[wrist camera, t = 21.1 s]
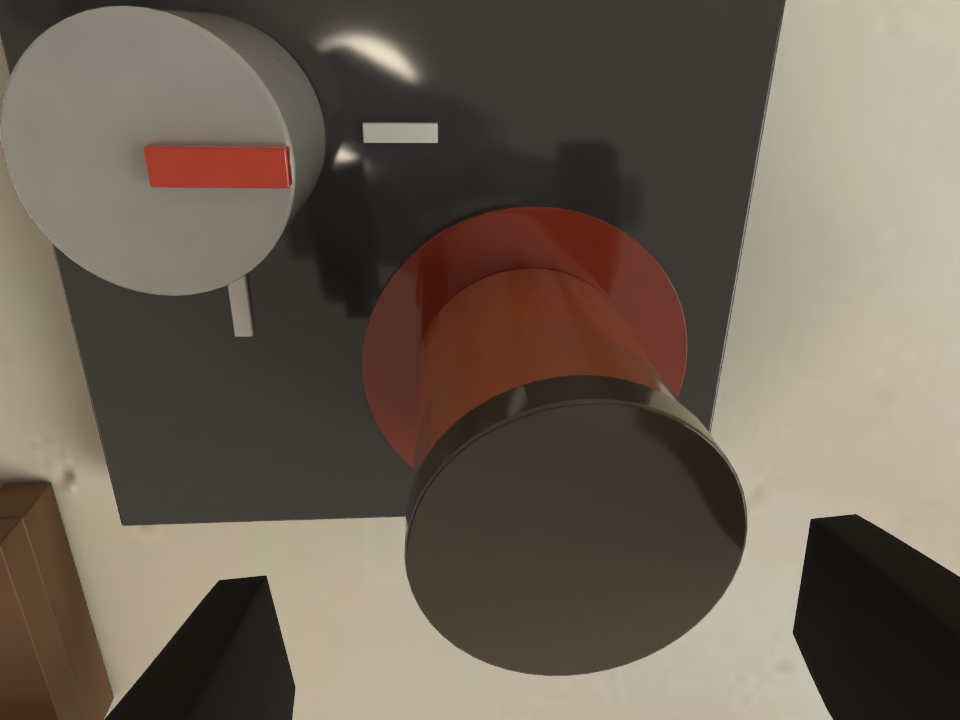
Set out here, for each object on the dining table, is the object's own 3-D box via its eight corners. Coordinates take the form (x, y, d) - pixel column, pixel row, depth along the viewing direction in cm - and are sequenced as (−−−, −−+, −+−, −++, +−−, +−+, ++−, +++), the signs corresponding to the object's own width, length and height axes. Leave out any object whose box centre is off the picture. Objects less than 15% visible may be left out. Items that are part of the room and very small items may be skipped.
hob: (-14, -117, 13) (-92, -143, 11) (758, -96, 14) (811, -117, 12) (127, 479, 19) (92, 532, 17) (673, 464, 20) (700, 512, 18)
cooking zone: (352, 205, 14) (351, 206, 14) (708, 205, 14) (710, 206, 14) (371, 505, 17) (370, 507, 17) (665, 496, 17) (666, 498, 17)
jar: (364, 375, 15) (330, 562, 10) (532, 213, 14) (598, 325, 9) (520, 503, 17) (563, 721, 12) (682, 368, 16) (814, 544, 10)
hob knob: (126, 236, 14) (26, 304, 10) (82, 8, 12) (-54, 0, 9) (332, 237, 14) (302, 303, 11) (318, 14, 12) (276, 9, 9)
